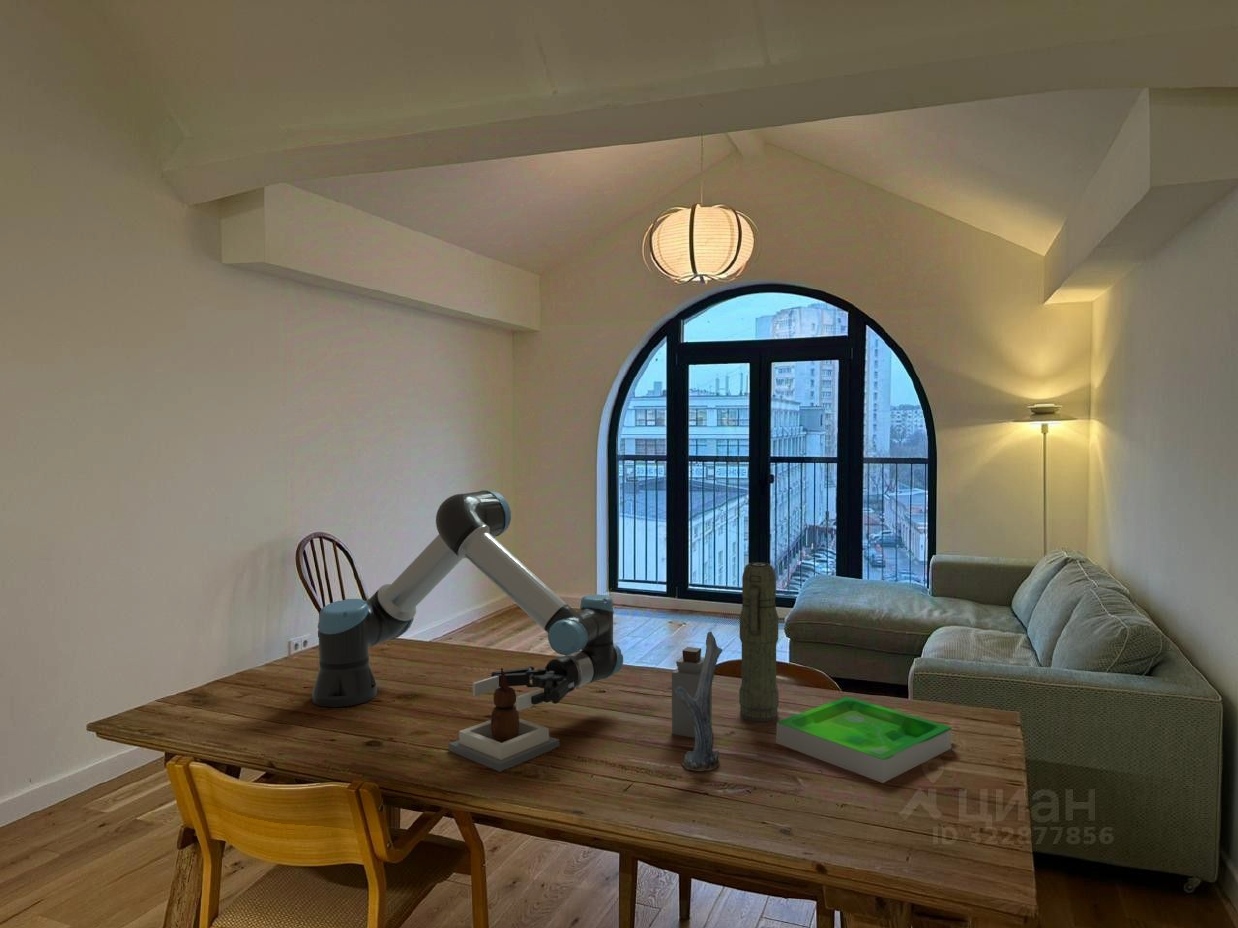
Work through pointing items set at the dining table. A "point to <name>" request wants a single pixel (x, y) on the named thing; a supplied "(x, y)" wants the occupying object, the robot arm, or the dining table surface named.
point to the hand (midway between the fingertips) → (494, 696)
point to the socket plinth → (503, 745)
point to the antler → (702, 712)
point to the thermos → (759, 643)
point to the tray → (864, 737)
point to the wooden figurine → (504, 713)
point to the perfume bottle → (689, 680)
